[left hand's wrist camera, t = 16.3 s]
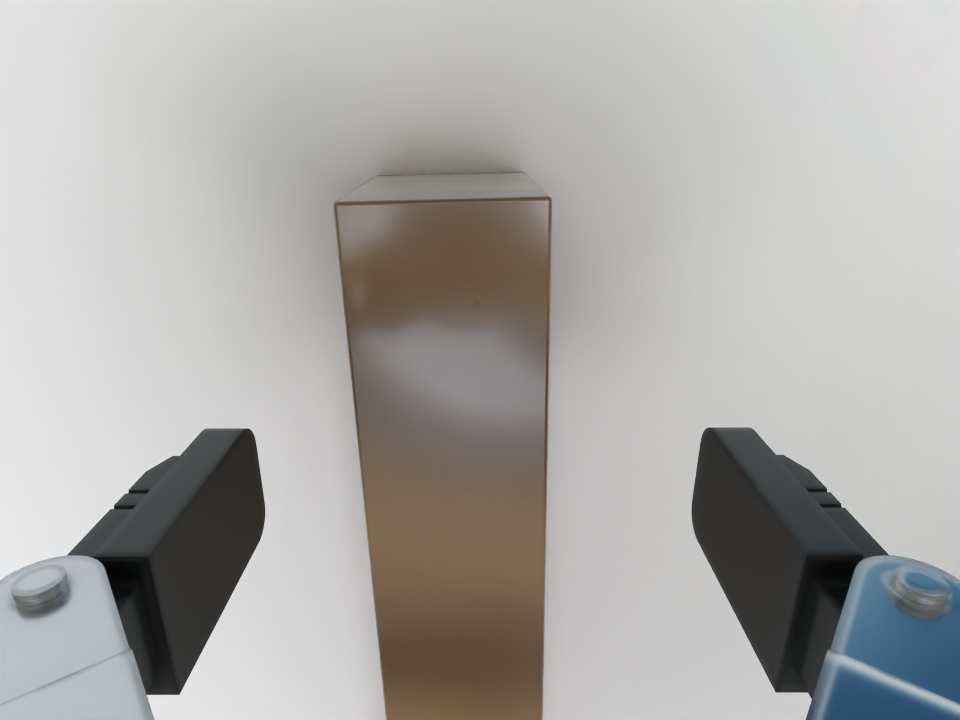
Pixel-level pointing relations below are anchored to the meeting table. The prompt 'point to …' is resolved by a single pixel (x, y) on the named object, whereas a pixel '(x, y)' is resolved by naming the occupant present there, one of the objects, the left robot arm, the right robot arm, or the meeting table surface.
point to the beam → (452, 433)
